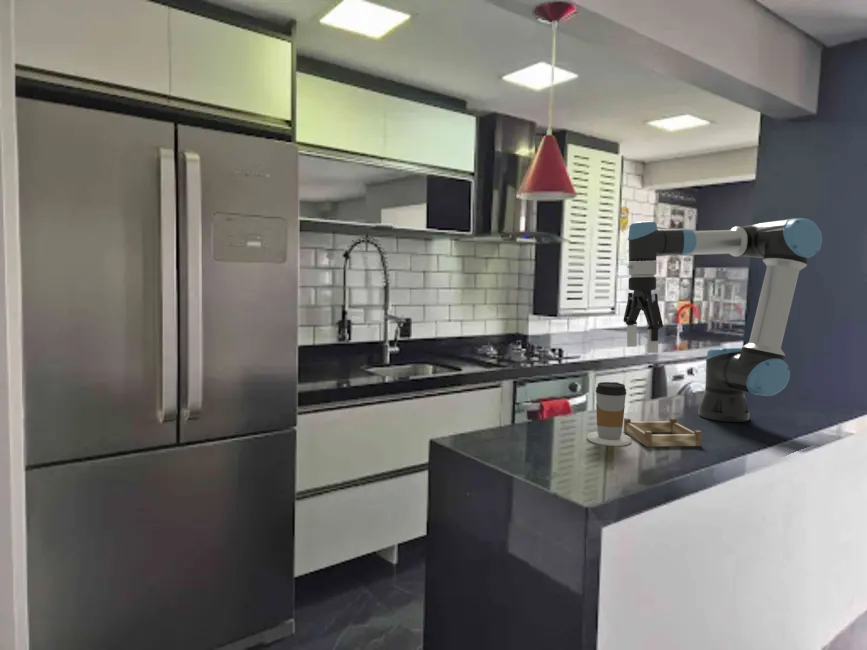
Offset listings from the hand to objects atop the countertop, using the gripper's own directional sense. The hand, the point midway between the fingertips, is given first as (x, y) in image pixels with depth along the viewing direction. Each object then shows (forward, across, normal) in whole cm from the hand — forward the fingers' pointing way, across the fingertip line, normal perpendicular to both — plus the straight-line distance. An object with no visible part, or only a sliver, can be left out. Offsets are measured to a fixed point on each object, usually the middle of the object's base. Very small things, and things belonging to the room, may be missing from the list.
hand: (641, 349), depth 166 cm
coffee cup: (+24, +7, -12) cm, 28 cm away
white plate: (+24, +7, -12) cm, 28 cm away
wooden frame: (+25, +6, +3) cm, 26 cm away
